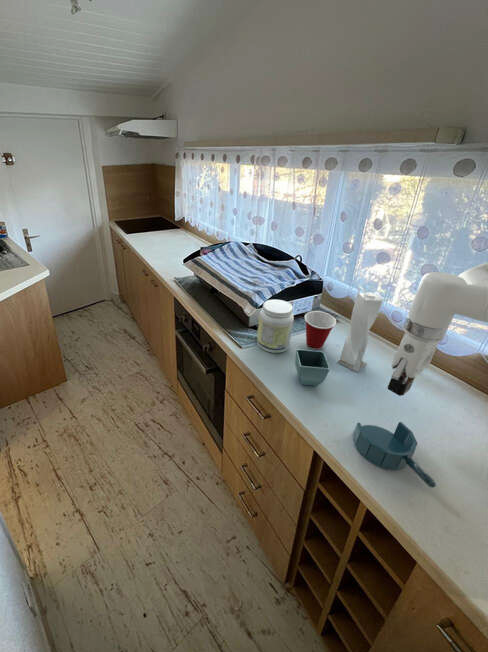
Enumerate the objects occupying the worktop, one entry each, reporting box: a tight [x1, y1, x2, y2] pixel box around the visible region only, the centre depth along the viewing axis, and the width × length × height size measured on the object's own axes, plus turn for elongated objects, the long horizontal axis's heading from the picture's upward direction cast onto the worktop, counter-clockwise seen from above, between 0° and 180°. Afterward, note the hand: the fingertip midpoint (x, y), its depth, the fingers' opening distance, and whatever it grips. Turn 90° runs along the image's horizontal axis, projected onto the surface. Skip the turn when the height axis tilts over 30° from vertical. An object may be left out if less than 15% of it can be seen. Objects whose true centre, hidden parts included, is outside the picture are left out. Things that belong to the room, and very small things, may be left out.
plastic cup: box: [304, 310, 337, 350], centre depth 113 cm, size 11×11×12 cm
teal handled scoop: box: [352, 421, 437, 488], centre depth 73 cm, size 19×12×6 cm, turn 16°
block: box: [387, 373, 415, 397], centre depth 76 cm, size 4×4×4 cm
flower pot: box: [294, 348, 331, 387], centre depth 97 cm, size 9×9×9 cm
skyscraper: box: [336, 285, 384, 373], centre depth 101 cm, size 8×8×28 cm
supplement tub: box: [256, 299, 295, 354], centre depth 113 cm, size 12×12×17 cm
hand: (398, 388), depth 77 cm, fingers closed on block, 3 cm apart
